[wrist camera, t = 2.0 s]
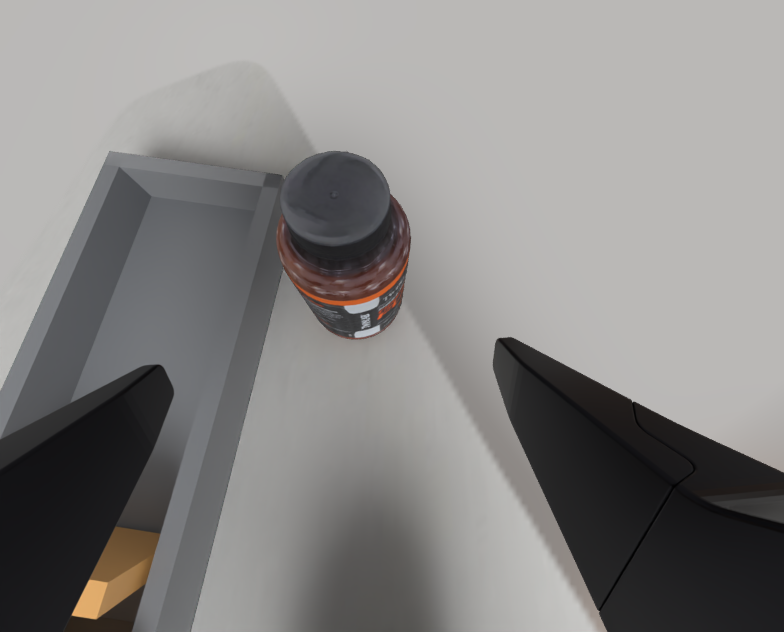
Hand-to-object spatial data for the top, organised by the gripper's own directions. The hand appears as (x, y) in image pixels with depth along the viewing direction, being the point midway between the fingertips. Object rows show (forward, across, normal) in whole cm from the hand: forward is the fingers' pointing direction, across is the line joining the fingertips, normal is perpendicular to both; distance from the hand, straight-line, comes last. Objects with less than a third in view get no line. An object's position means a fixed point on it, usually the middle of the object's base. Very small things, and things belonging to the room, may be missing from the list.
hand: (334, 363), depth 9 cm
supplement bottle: (+13, 0, +5) cm, 14 cm away
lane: (+10, +12, +8) cm, 18 cm away
